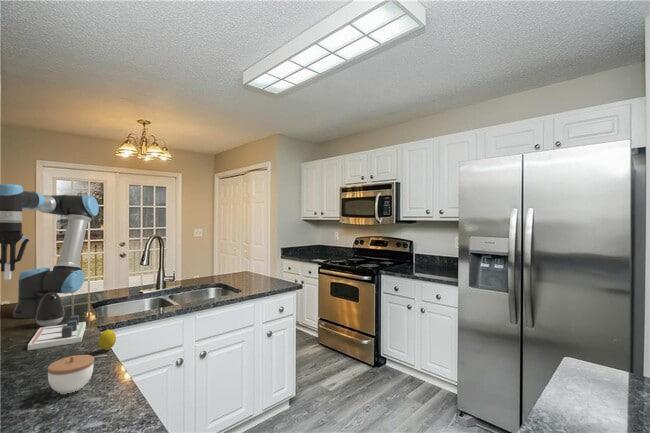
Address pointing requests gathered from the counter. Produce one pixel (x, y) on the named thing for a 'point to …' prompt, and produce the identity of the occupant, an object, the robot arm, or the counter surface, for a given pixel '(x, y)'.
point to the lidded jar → (70, 373)
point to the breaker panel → (55, 336)
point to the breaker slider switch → (67, 331)
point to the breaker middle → (72, 324)
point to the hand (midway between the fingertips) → (7, 279)
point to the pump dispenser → (50, 310)
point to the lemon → (107, 339)
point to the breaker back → (75, 318)
